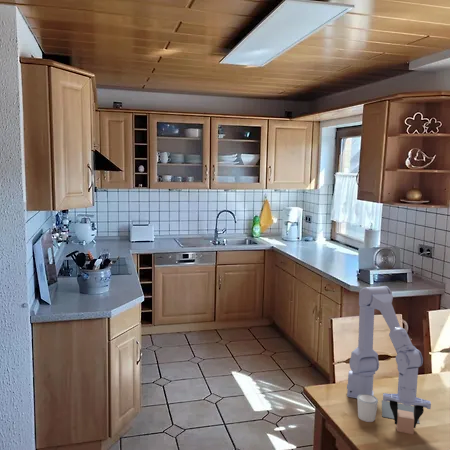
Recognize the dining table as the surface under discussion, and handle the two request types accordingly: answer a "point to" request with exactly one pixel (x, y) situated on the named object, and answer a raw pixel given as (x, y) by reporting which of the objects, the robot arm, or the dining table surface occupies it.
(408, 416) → the terracotta block
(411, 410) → the slate mat
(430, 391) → the dining table surface
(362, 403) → the white cup
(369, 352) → the robot arm
